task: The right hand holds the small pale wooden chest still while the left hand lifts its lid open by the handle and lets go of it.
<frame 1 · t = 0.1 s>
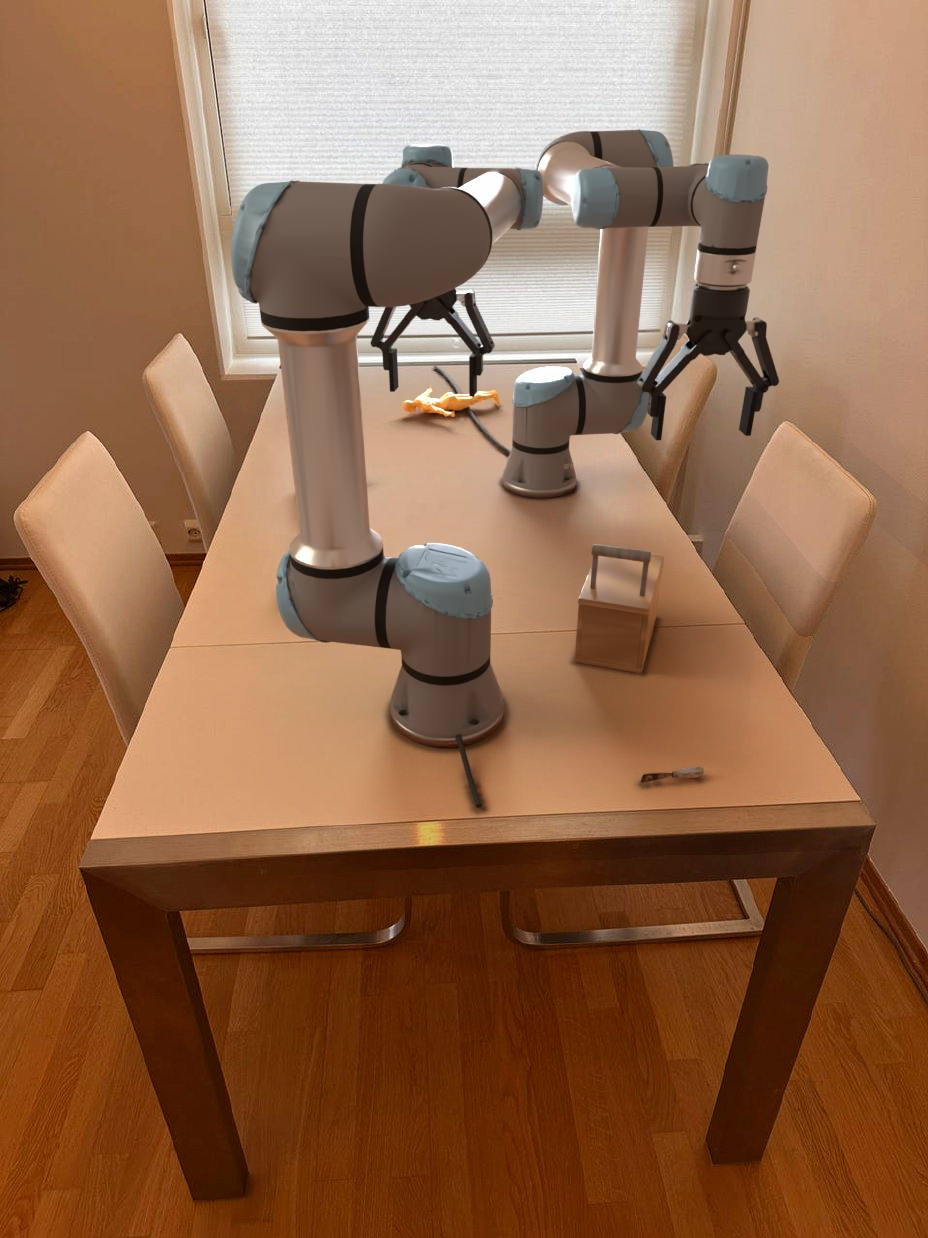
left hand: (433, 391, 149), 28 cm above the table, tool pointing down, fingers open, 13 cm apart
right hand: (700, 435, 132), 28 cm above the table, tool pointing down, fingers open, 13 cm apart
handgun: (334, 499, 180), on the table
lid: (624, 558, 128), point 14 cm above the table, hinge at 0.0°
stone: (324, 586, 150), on the table
putty knife: (671, 781, 109), on the table
human figure: (450, 410, 226), on the table
chest: (616, 639, 136), on the table
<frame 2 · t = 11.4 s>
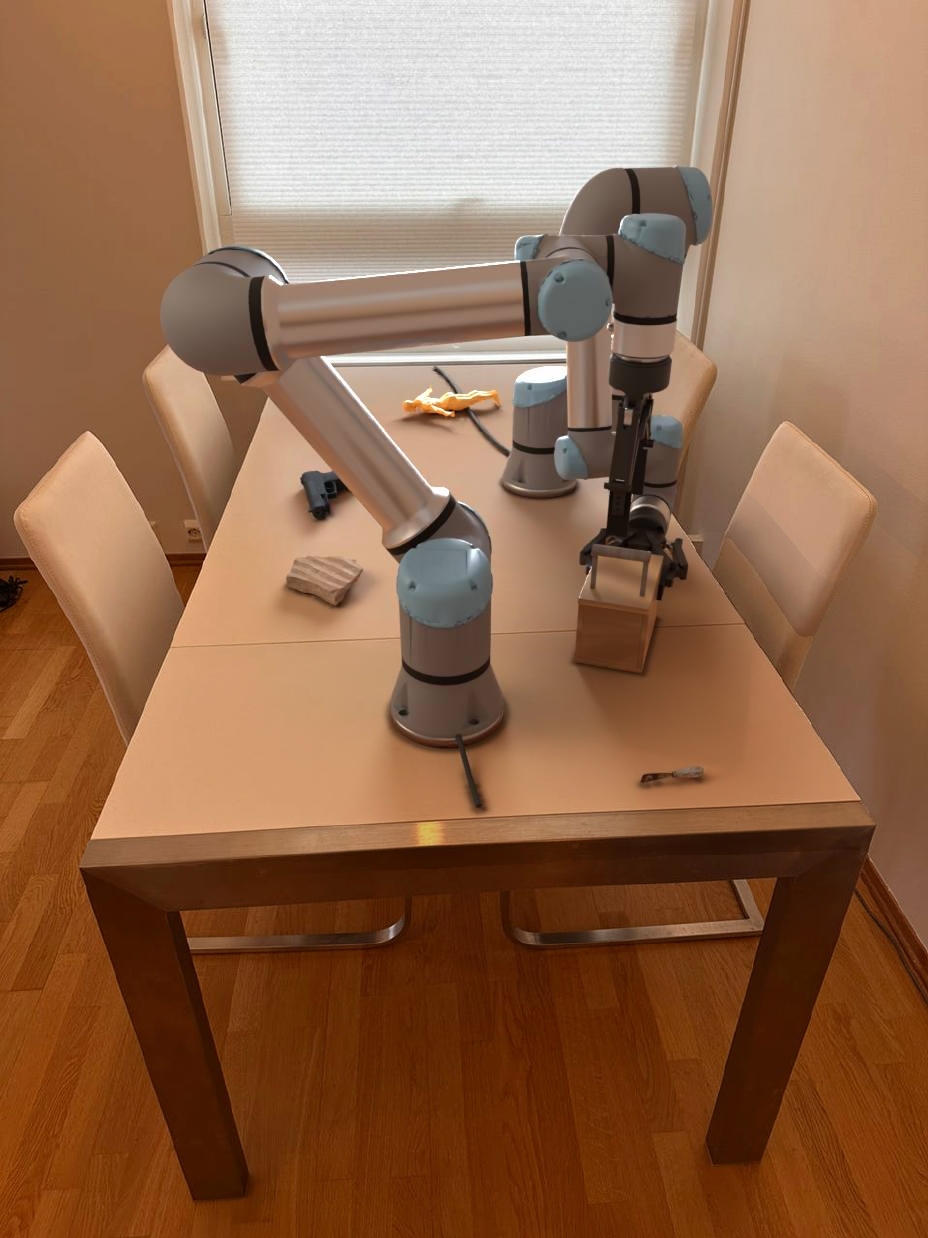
left hand: (625, 513, 120), 23 cm above the table, tool pointing down, fingers open, 13 cm apart
right hand: (624, 587, 136), 7 cm above the table, tool horizontal, fingers closed on chest, 10 cm apart
chest: (616, 639, 136), on the table, touching right hand
everything else where it was.
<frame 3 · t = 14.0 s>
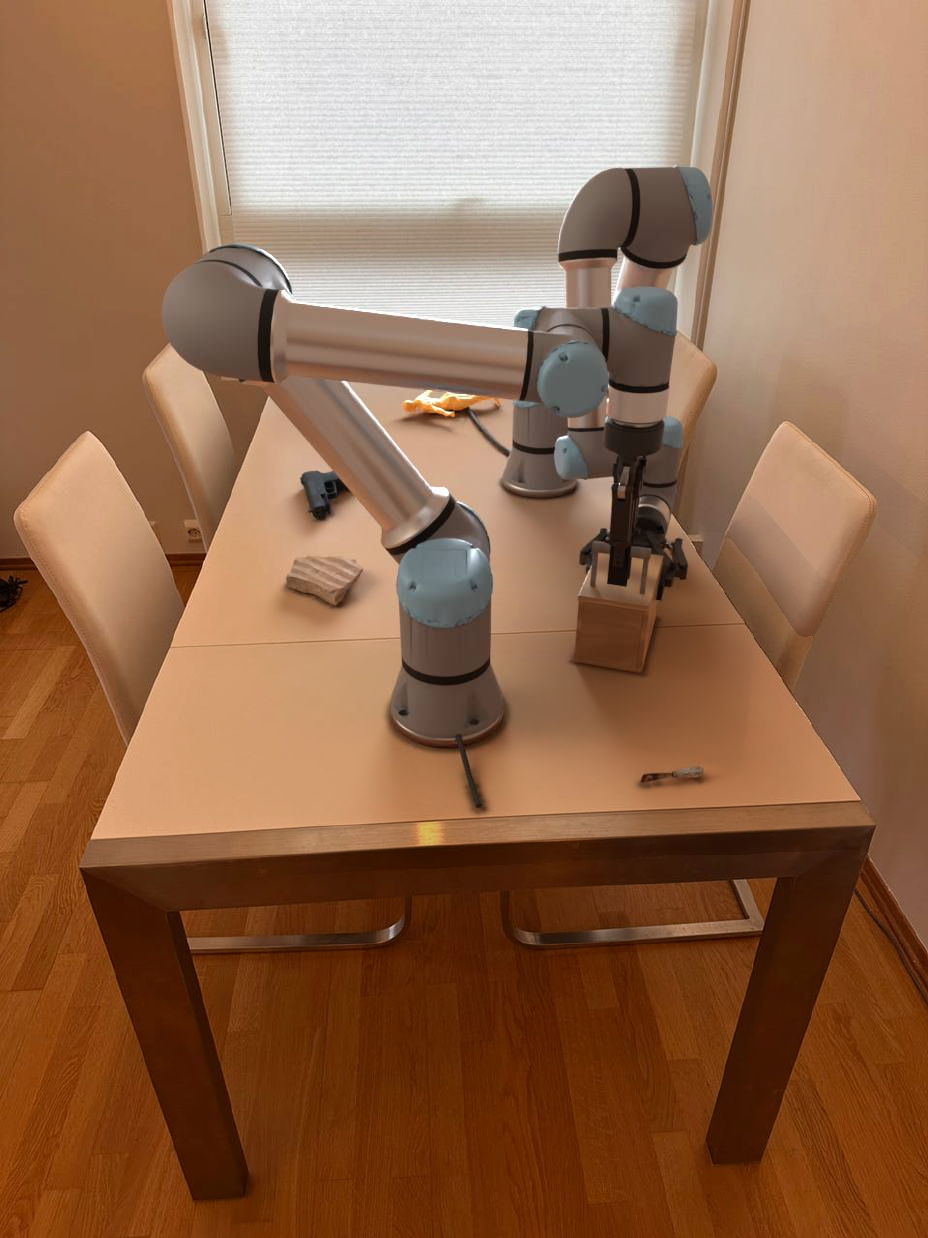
left hand: (618, 580, 125), 13 cm above the table, tool pointing down, fingers closed on lid, 1 cm apart
right hand: (624, 587, 136), 7 cm above the table, tool horizontal, fingers closed on chest, 10 cm apart
lid: (624, 556, 128), point 15 cm above the table, hinge at 1.6°, touching left hand
chest: (616, 639, 136), on the table, touching right hand
everything else where it was.
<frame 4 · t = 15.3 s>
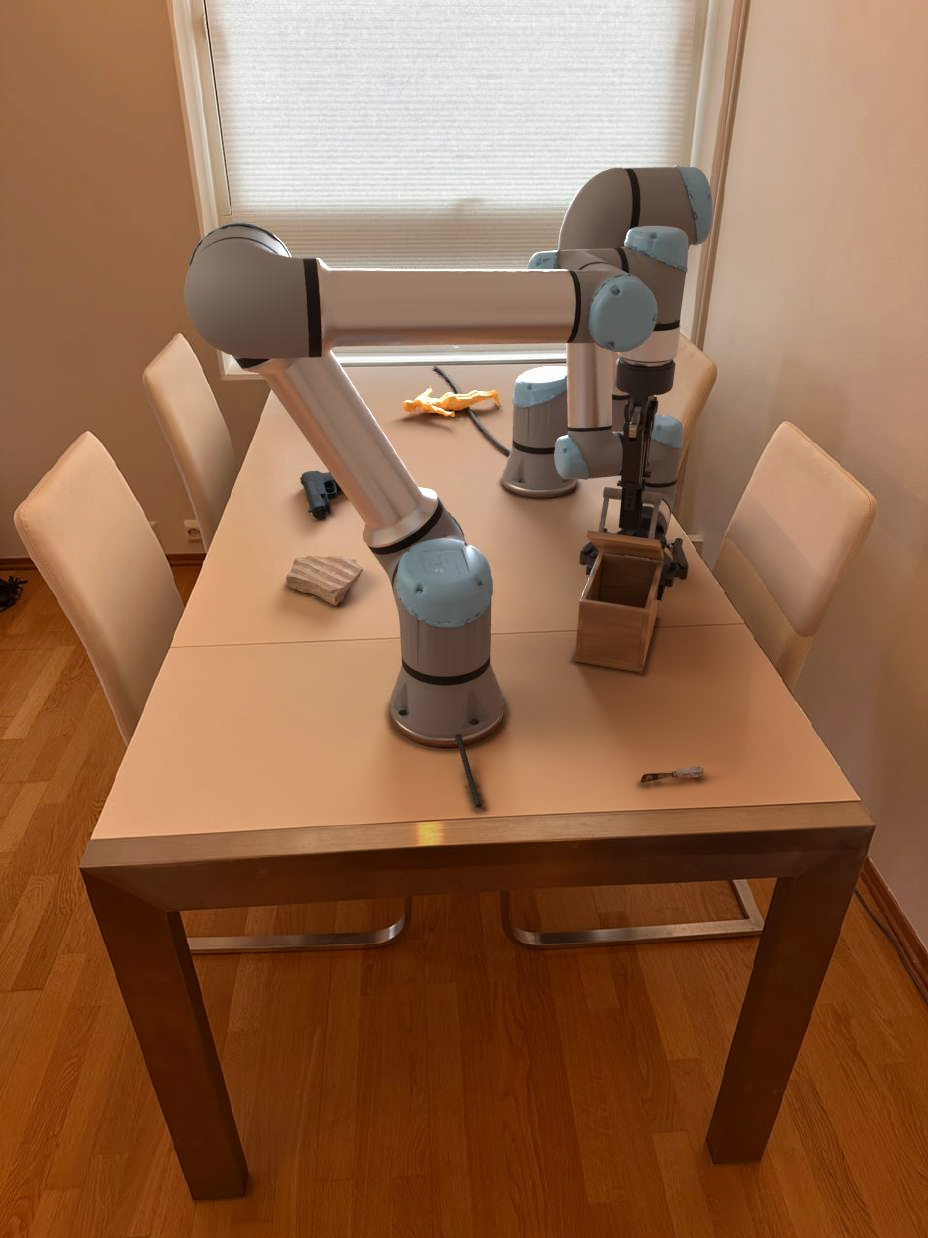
left hand: (629, 524, 127), 19 cm above the table, tool pointing down, fingers closed on lid, 2 cm apart
right hand: (625, 587, 136), 7 cm above the table, tool horizontal, fingers closed on chest, 10 cm apart
lid: (631, 523, 129), point 18 cm above the table, hinge at 34.0°, touching left hand
chest: (616, 639, 136), on the table, touching right hand
everything else where it was.
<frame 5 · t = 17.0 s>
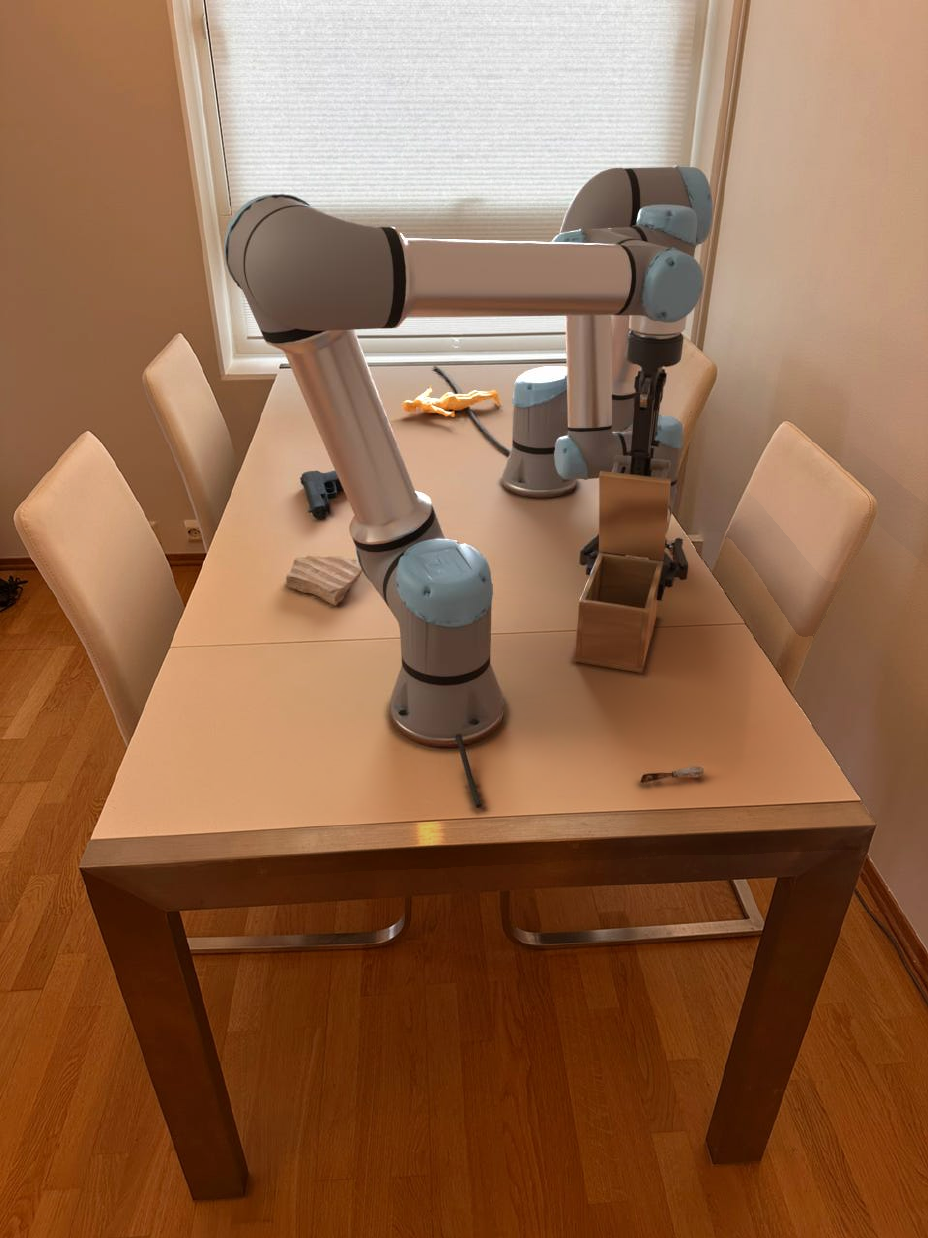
left hand: (638, 492, 133), 20 cm above the table, tool pointing down, fingers open, 2 cm apart
right hand: (625, 587, 136), 7 cm above the table, tool horizontal, fingers closed on chest, 10 cm apart
lid: (637, 500, 132), point 20 cm above the table, hinge at 67.9°
chest: (616, 639, 136), on the table, touching right hand
everything else where it was.
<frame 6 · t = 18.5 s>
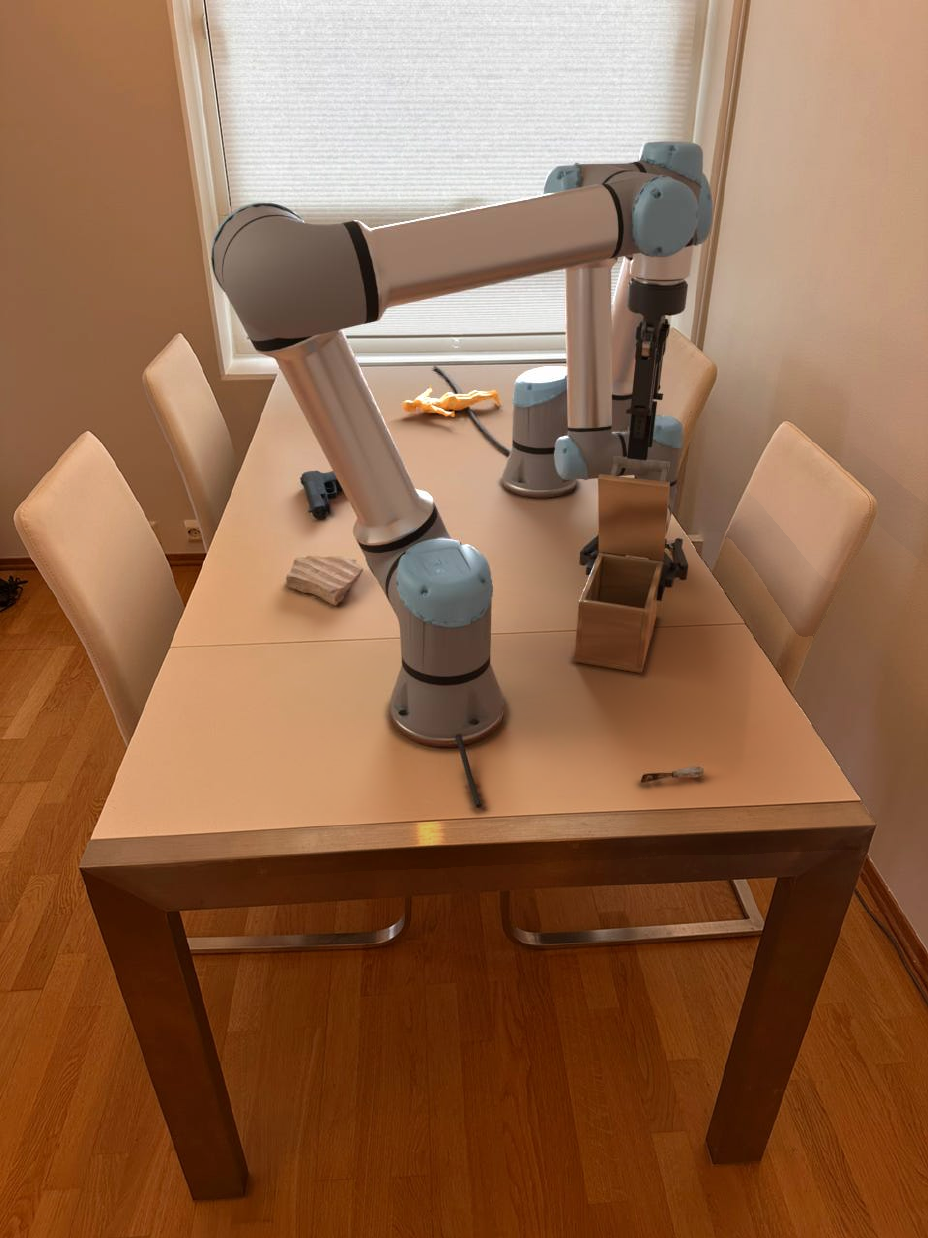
left hand: (639, 451, 126), 28 cm above the table, tool pointing down, fingers open, 5 cm apart
right hand: (624, 587, 136), 7 cm above the table, tool horizontal, fingers closed on chest, 10 cm apart
lid: (636, 501, 132), point 20 cm above the table, hinge at 65.6°
chest: (616, 639, 136), on the table, touching right hand
everything else where it was.
when the right hand's fingers open (7 cm above the table, at t = 20.9 s): chest stays where it is, on the table.
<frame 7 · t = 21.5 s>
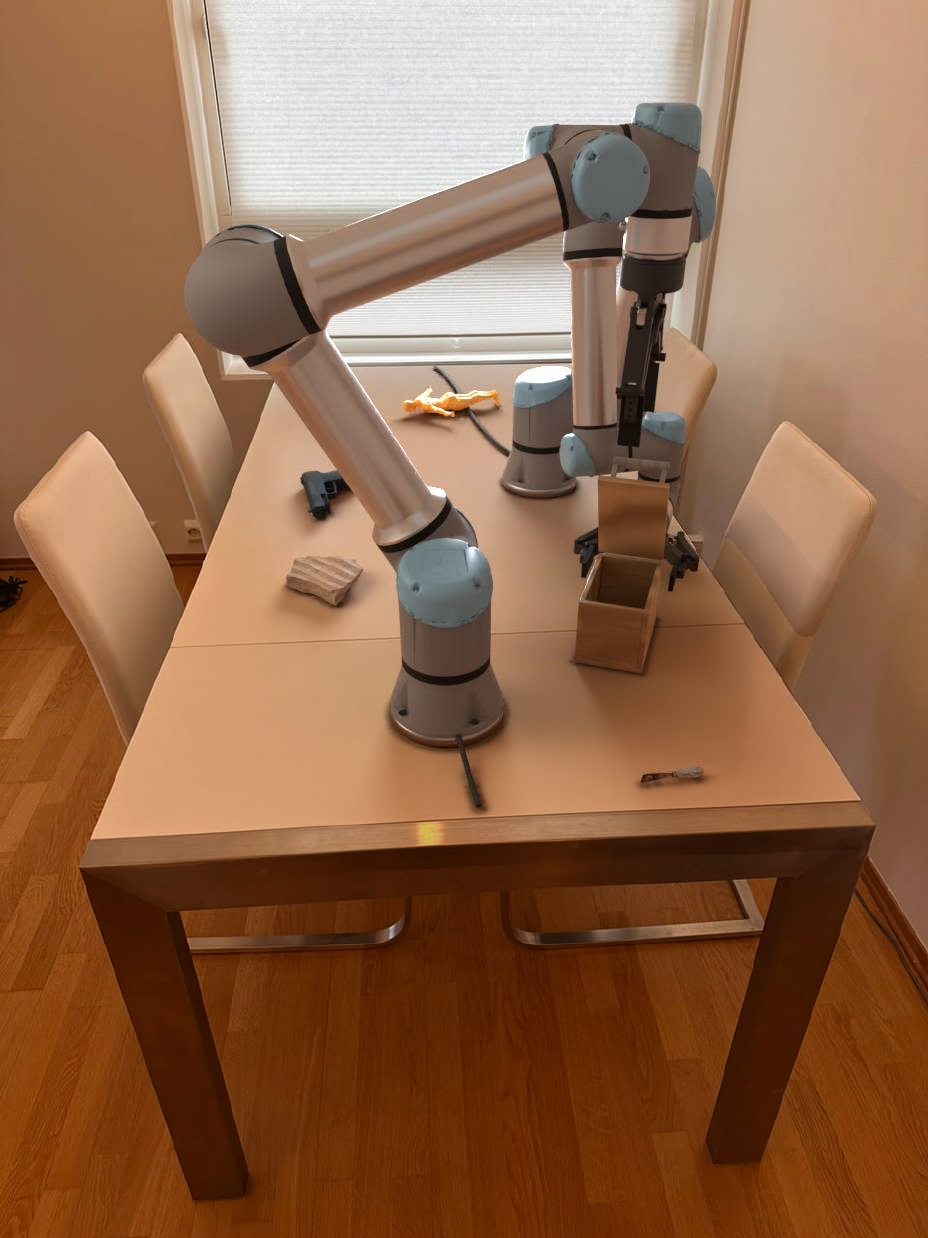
left hand: (636, 427, 116), 34 cm above the table, tool pointing down, fingers open, 13 cm apart
right hand: (626, 577, 138), 7 cm above the table, tool horizontal, fingers open, 13 cm apart
lid: (636, 501, 132), point 20 cm above the table, hinge at 65.1°
chest: (616, 639, 136), on the table
everything else where it was.
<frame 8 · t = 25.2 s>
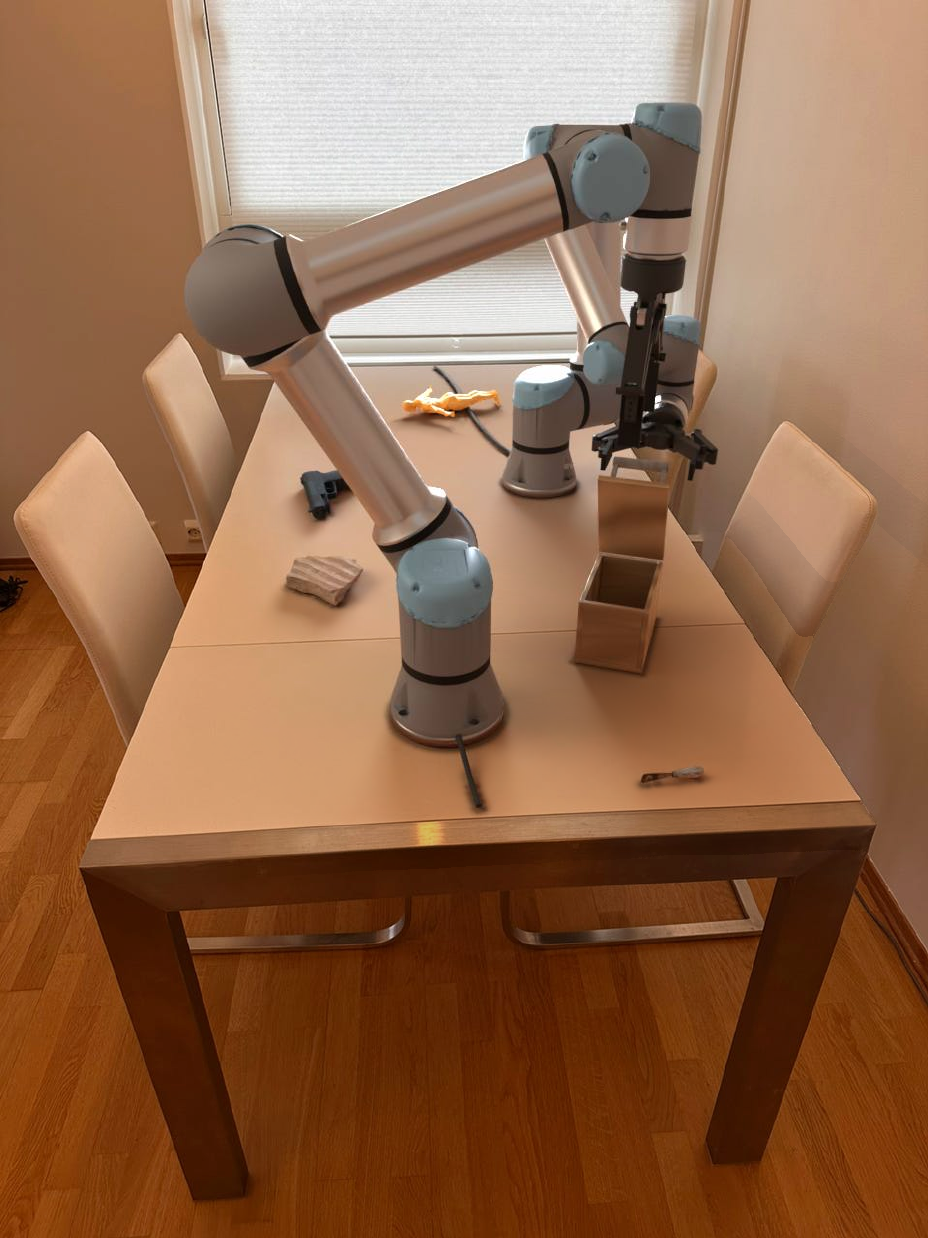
left hand: (636, 427, 116), 34 cm above the table, tool pointing down, fingers open, 13 cm apart
right hand: (646, 467, 139), 21 cm above the table, tool horizontal, fingers open, 13 cm apart
nothing on the table moved.
at the end: lid at +65° (first picture: +0°); the left hand is holding nothing; the right hand is holding nothing; chest tilted 0°; chest never tilted more than 1° during the clip; chest moved 0.0 cm from its start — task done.
